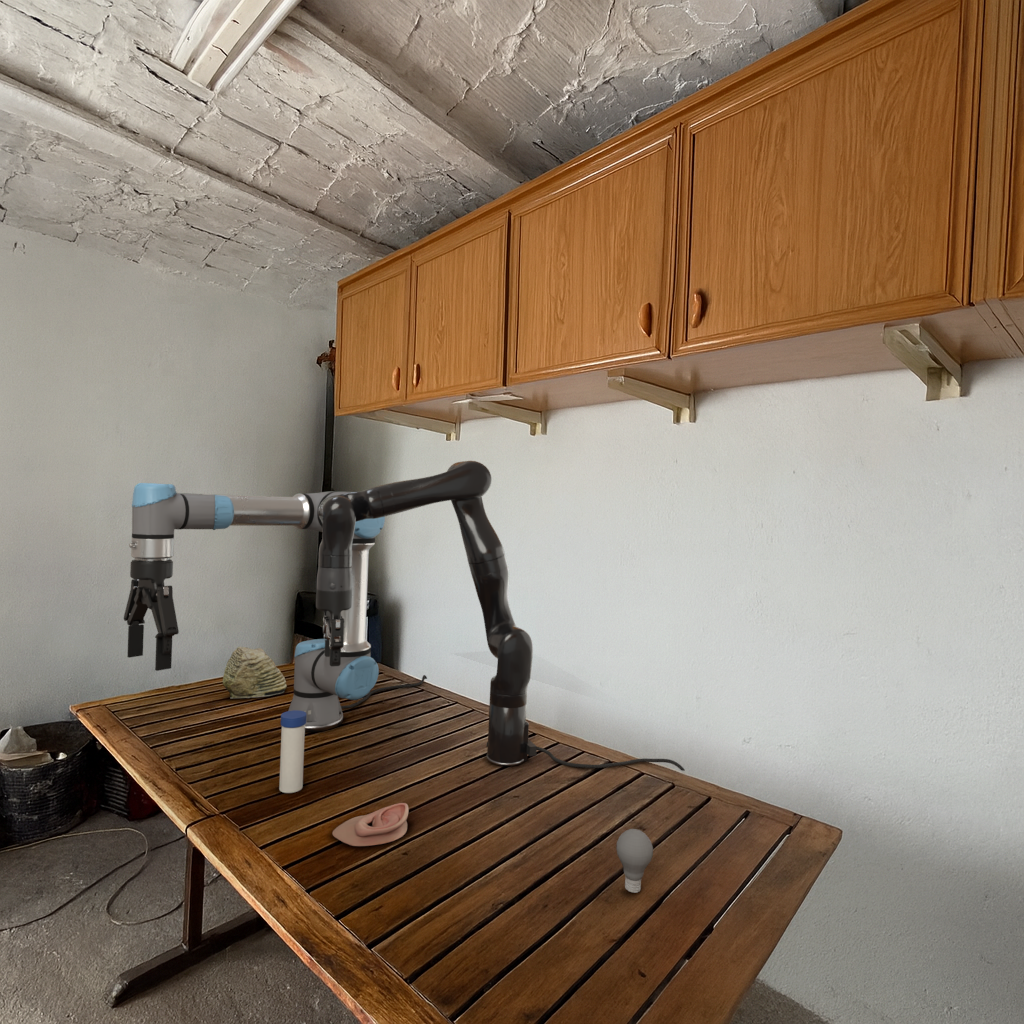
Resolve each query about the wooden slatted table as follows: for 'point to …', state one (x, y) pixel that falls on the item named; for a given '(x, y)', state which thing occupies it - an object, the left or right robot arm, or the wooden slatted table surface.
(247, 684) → the fossil
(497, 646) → the right robot arm
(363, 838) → the anatomical model
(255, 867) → the wooden slatted table surface
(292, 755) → the white bottle
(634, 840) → the light bulb
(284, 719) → the lid
